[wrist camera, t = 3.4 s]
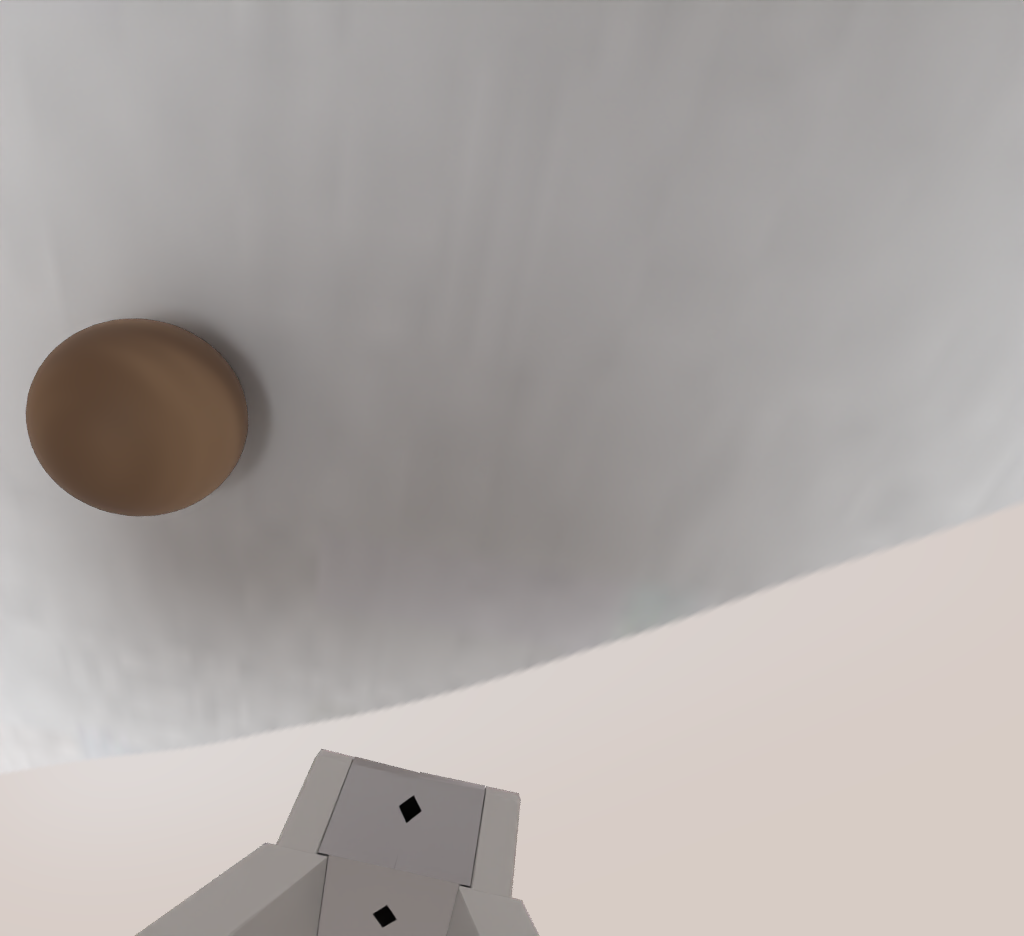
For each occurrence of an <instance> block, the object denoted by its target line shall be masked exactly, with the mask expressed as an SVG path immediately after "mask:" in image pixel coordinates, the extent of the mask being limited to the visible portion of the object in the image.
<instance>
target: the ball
mask: <svg viewBox="0 0 1024 936" xmlns="http://www.w3.org/2000/svg"><path fill="white" fill-rule="evenodd" d="M26 423H27V430H28V435H29V438H30V442H31V445H32V448H33V450H34V453H35V455H36V457H37V458H38V460H39V462H40V464H41V465H42V467H43V468H44V469H45V471H46V472H47V473H48V475H49V476H50V477H51V478H52V479H53V480H54V481H55V482H56V483H57V484H58V485H59V486H60V487H61V488H62V489H64V490H65V491H66V492H67V493H69V494H70V495H72V496H73V497H75V498H76V499H78V500H80V501H82V502H84V503H86V504H88V505H90V506H92V507H95V508H97V509H100V510H103V511H106V512H110V513H115V514H121V515H127V516H154V515H161V514H166V513H170V512H174V511H178V510H180V509H183V508H186V507H188V506H190V505H193V504H195V503H196V502H198V501H200V500H202V499H203V498H205V497H206V496H208V495H209V494H210V493H212V492H213V491H214V490H216V489H217V488H218V487H219V486H220V485H221V484H222V483H223V482H224V480H225V479H226V478H227V477H228V476H229V475H230V473H231V472H232V470H233V469H234V467H235V466H236V464H237V462H238V460H239V458H240V456H241V454H242V452H243V448H244V445H245V441H246V437H247V430H248V411H247V404H246V399H245V396H244V392H243V389H242V387H241V384H240V382H239V380H238V378H237V376H236V375H235V373H234V371H233V370H232V368H231V367H230V365H229V364H228V363H227V361H226V360H225V359H224V358H223V357H222V356H221V355H220V353H219V352H217V351H216V350H215V349H214V348H213V347H212V346H211V345H209V344H208V343H207V342H205V341H204V340H203V339H201V338H199V337H198V336H196V335H194V334H193V333H191V332H189V331H187V330H184V329H182V328H180V327H177V326H175V325H171V324H168V323H165V322H160V321H154V320H148V319H119V320H112V321H107V322H103V323H100V324H96V325H93V326H90V327H88V328H86V329H84V330H82V331H79V332H77V333H75V334H74V335H72V336H71V337H69V338H68V339H66V340H65V341H63V342H62V343H61V344H60V345H58V346H57V347H56V348H55V349H54V350H53V351H52V352H51V353H50V354H49V355H48V357H47V358H46V359H45V360H44V362H43V363H42V365H41V366H40V367H39V369H38V371H37V373H36V375H35V377H34V379H33V382H32V384H31V386H30V390H29V393H28V399H27V407H26Z"/></svg>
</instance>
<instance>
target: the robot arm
mask: <svg viewBox="0 0 1024 936" xmlns="http://www.w3.org/2000/svg"><path fill="white" fill-rule="evenodd" d="M519 810H520V797H519V793H515V792H510V791H506V790H501V789H497V788H492V787H487V786H486V788H485V786H484V785H479V784H474V783H470V782H465V781H461V780H456V779H451V778H446V777H441V776H437V775H432V774H427V773H422V772H420V773H418V772H414V771H410V770H406V769H402V768H398V767H394V766H390V765H386V764H382V763H378V762H374V761H370V760H367V759H363V758H358V757H352V756H348V755H344V754H340V753H336V752H332V751H328V750H324V749H321V751H320V752H319V753H318V755H317V756H316V757H315V759H314V761H313V764H312V766H311V768H310V770H309V772H308V775H307V777H306V779H305V781H304V784H303V786H302V788H301V790H300V792H299V795H298V797H297V799H296V801H295V804H294V806H293V808H292V810H291V813H290V815H289V817H288V819H287V821H286V824H285V826H284V828H283V830H282V832H281V835H280V837H279V839H278V841H277V844H276V845H274V844H270V843H265V844H263V845H262V846H260V847H259V848H257V849H256V850H255V851H253V852H252V853H250V854H249V855H248V856H247V857H245V858H243V859H242V860H241V861H239V862H238V863H236V864H235V865H234V866H232V867H231V868H229V869H228V870H227V871H225V872H224V873H222V874H221V875H219V876H218V877H217V878H215V879H214V880H212V881H211V882H210V883H208V884H207V885H205V886H204V887H203V888H201V889H200V890H198V891H197V892H196V893H194V894H193V895H191V896H190V897H189V898H187V899H186V900H184V901H183V902H181V903H180V904H179V905H177V906H176V907H174V908H173V909H172V910H170V911H169V912H167V913H166V914H165V915H163V916H162V917H160V918H159V919H158V920H156V921H155V922H153V923H152V924H150V925H149V926H148V927H146V928H145V929H143V930H142V931H141V932H139V933H138V934H136V935H135V936H539V934H538V932H537V930H536V928H535V926H534V924H533V922H532V920H531V918H530V916H529V914H528V912H527V910H526V908H525V906H524V904H523V902H522V900H519V899H516V898H512V885H513V876H514V865H515V854H516V843H517V832H518V821H519Z"/></svg>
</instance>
